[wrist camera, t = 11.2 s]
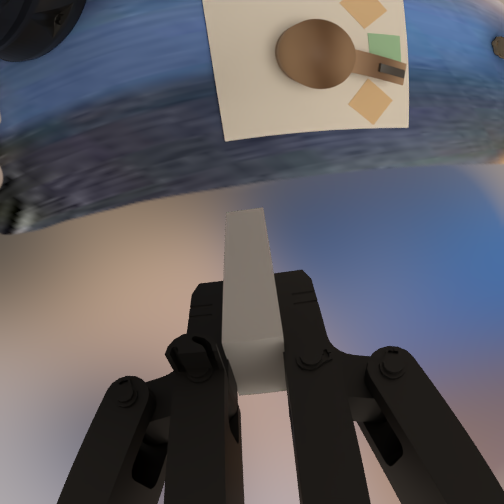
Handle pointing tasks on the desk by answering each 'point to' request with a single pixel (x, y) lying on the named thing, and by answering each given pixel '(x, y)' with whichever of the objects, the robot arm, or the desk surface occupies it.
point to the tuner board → (289, 91)
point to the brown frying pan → (329, 56)
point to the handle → (499, 46)
